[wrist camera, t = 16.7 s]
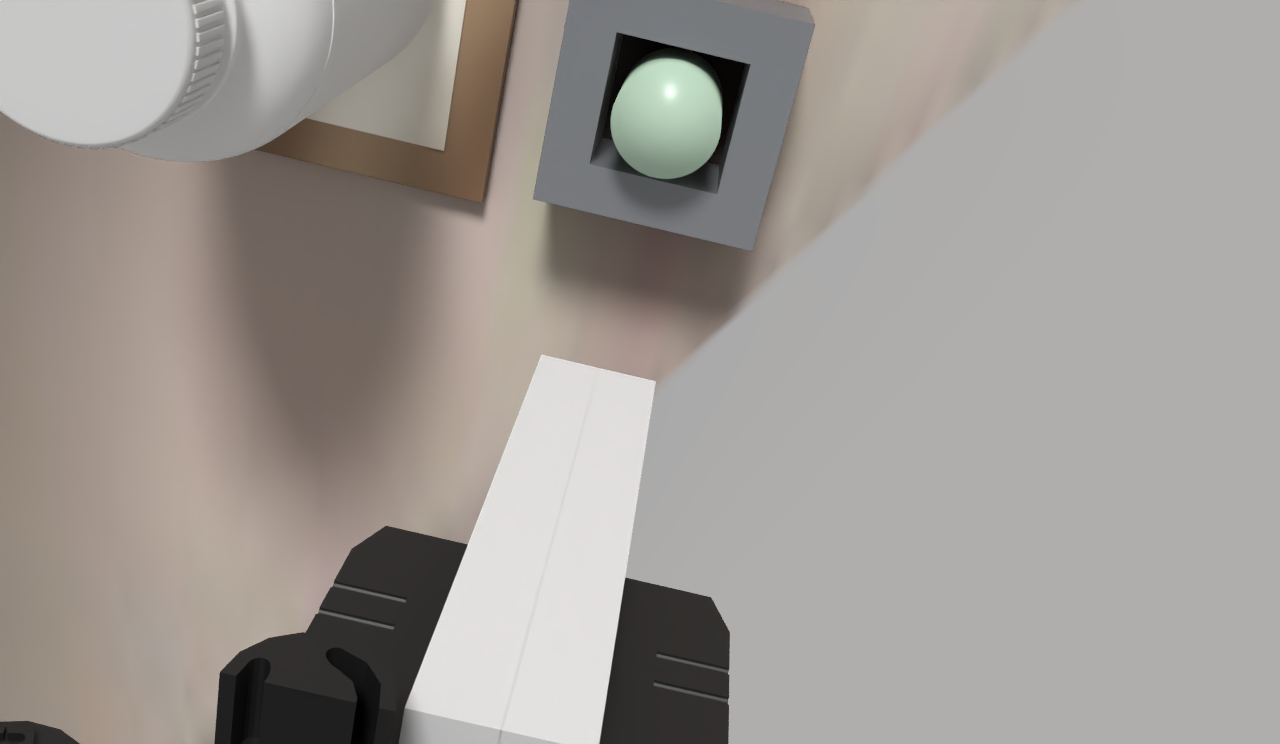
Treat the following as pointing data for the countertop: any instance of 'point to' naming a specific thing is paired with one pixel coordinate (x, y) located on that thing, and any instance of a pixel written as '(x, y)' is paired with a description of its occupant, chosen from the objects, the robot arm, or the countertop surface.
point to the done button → (668, 114)
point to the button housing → (738, 187)
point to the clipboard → (420, 107)
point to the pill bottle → (189, 68)
